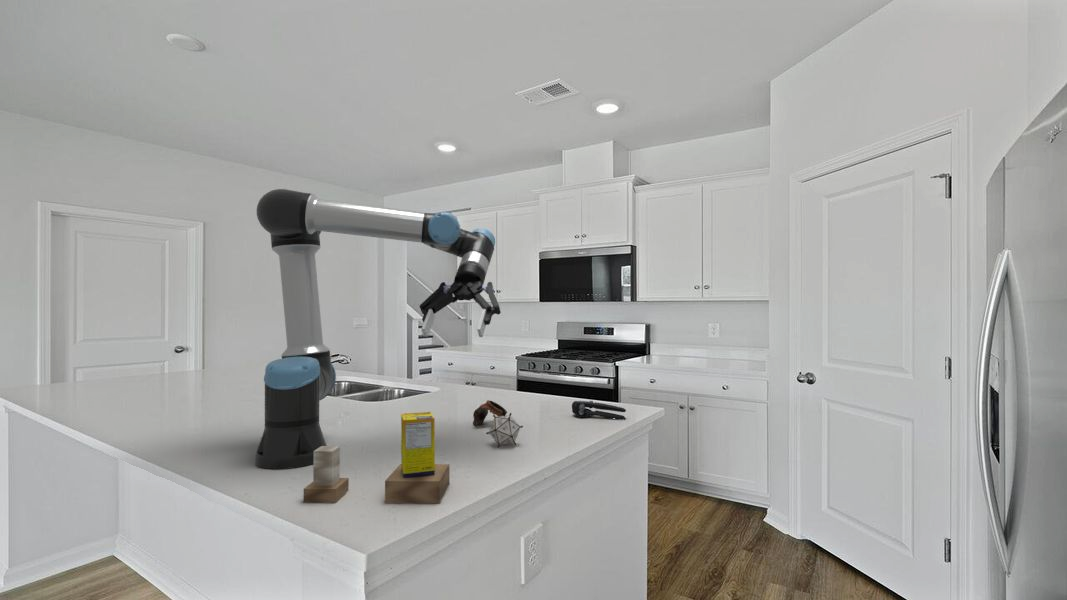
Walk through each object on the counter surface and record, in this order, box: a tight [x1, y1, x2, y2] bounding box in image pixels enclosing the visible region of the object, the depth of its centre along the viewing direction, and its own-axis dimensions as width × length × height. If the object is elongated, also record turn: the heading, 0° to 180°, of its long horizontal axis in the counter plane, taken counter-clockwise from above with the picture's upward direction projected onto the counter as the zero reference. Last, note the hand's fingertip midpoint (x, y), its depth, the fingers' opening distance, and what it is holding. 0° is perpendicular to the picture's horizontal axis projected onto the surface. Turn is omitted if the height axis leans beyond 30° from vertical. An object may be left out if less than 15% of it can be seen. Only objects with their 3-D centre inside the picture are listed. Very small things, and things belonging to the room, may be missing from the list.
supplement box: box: [400, 411, 436, 478], centre depth 98 cm, size 6×6×11 cm
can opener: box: [571, 400, 627, 420], centre depth 164 cm, size 18×7×6 cm, turn 73°
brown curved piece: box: [472, 400, 508, 427], centre depth 153 cm, size 12×10×8 cm
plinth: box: [384, 463, 451, 504], centre depth 97 cm, size 10×10×4 cm
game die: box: [485, 412, 524, 449], centre depth 131 cm, size 9×8×10 cm
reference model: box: [302, 445, 350, 504], centre depth 96 cm, size 6×6×9 cm
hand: (451, 333), depth 118 cm, fingers open, 13 cm apart
